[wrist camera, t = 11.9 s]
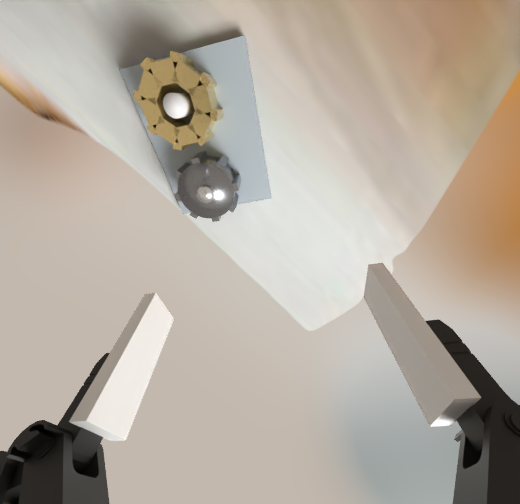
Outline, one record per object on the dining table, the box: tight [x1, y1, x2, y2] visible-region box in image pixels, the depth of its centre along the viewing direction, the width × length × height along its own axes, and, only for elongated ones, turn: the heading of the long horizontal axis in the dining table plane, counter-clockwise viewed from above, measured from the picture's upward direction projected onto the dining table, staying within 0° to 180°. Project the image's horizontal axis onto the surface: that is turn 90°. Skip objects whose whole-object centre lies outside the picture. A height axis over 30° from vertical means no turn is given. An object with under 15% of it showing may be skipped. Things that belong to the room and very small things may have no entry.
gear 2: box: [174, 151, 241, 222], centre depth 32 cm, size 9×9×6 cm
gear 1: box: [133, 51, 223, 151], centre depth 26 cm, size 9×9×5 cm
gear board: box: [119, 35, 271, 214], centre depth 29 cm, size 20×16×7 cm
